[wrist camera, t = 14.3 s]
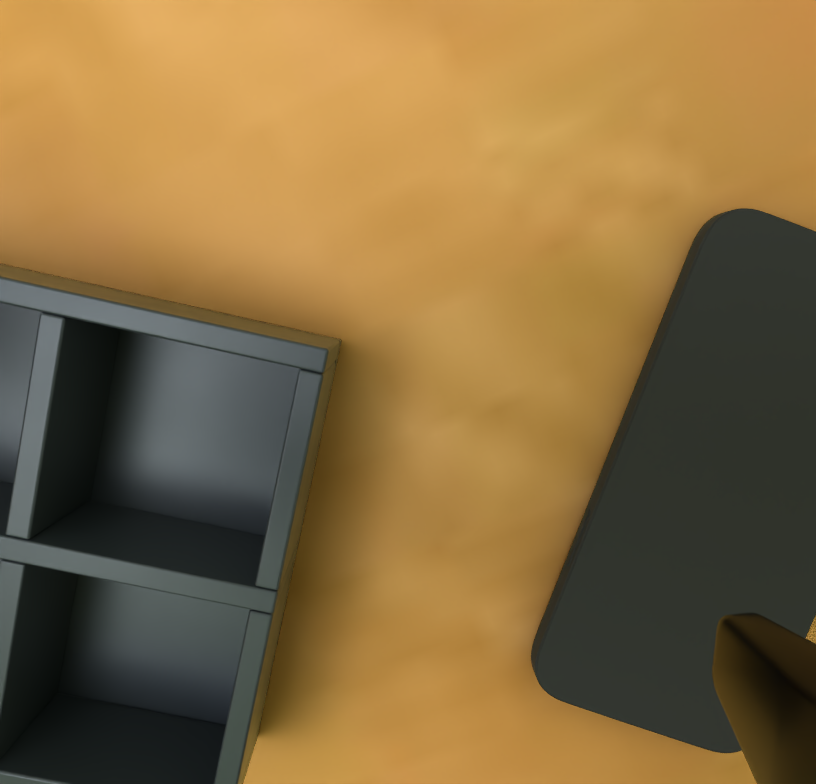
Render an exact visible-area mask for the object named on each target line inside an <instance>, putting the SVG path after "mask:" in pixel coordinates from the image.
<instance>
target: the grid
mask: <svg viewBox="0 0 816 784" xmlns="http://www.w3.org/2000/svg"><path fill="white" fill-rule="evenodd" d="M340 346H341V339H337V338H333V337H328V336H324V335H319V334H315V333H310V332H306V331H301V330H297V329H292V328H288V327H283V326H279V325H275V324H270V323H266V322H261V321H257V320H252V319H248V318H243V317H239V316H234V315H230V314H225V313H221V312H216V311H212V310H207V309H203V308H198V307H194V306H189V305H185V304H180V303H176V302H171V301H167V300H162V299H158V298H153V297H149V296H144V295H140V294H135V293H131V292H126V291H122V290H117V289H113V288H108V287H104V286H99V285H95V284H90V283H86V282H81V281H77V280H72V279H68V278H63V277H59V276H54V275H50V274H45V273H41V272H36V271H32V270H27V269H23V268H18V267H14V266H9V265H5V264H0V784H243V782H244V779H245V776H246V772H247V769H248V766H249V763H250V760H251V756H252V753H253V750H254V746H255V744H256V740H257V737H258V732H259V727H260V723H261V718H262V713H263V709H264V704H265V699H266V694H267V690H268V685H269V680H270V676H271V671H272V666H273V661H274V657H275V652H276V647H277V643H278V638H279V633H280V628H281V624H282V619H283V614H284V610H285V605H286V600H287V595H288V591H289V586H290V581H291V577H292V572H293V567H294V562H295V558H296V553H297V548H298V544H299V539H300V534H301V529H302V525H303V520H304V515H305V511H306V506H307V501H308V496H309V492H310V487H311V482H312V478H313V473H314V468H315V463H316V459H317V454H318V449H319V445H320V440H321V435H322V430H323V426H324V421H325V416H326V412H327V407H328V402H329V397H330V393H331V388H332V383H333V379H334V374H335V369H336V364H337V360H338V355H339V350H340Z"/></svg>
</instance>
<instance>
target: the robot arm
mask: <svg viewBox="0 0 816 784" xmlns="http://www.w3.org/2000/svg"><path fill="white" fill-rule="evenodd" d="M712 678H713V684H714V687H715V690H716V693H717V695H718V697H719V699H720V702H721V704H722V706H723V708H724V711H725V713H726V715H727V717H728V720H729V722H730V724H731V726H732V729H733V731H734V733H735V735H736V738H737V740H738V742H739V744H740V747H741V749H742V751H743V753H744V755H745V758H746V760H747V762H748V764H749V767H750V769H751V771H752V773H753V776H754V778H755V780H756V782H757V784H816V644H815V643H813V642H811V641H809V640H807V639H805V638H804V637H802V636H800V635H798V634H796V633H794V632H792V631H790V630H789V629H787V628H785V627H783V626H781V625H779V624H777V623H775V622H774V621H772V620H770V619H768V618H766V617H764V616H762V615H760V614H758V613H753V612H748V613H739V614H730V615H725V616H723V617H721V618H720V620H719V622H718V624H717V630H716V638H715V647H714V655H713V664H712Z"/></svg>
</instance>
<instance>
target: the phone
mask: <svg viewBox="0 0 816 784" xmlns="http://www.w3.org/2000/svg"><path fill="white" fill-rule="evenodd" d="M748 612H753V613H758V614H760V615H762V616H764V617H766V618H768V619H770V620H772V621H774V622H775V623H777V624H779V625H781V626H783V627H785V628H787V629H789V630H790V631H792V632H794V633H796V634H798V635H800V636H802V637H804V638H806V635H807V633H808V631H809V629H810V626H811V624H812V622H813V620H814V617H815V615H816V232H815V231H813V230H810V229H807V228H805V227H802V226H799V225H797V224H794V223H792V222H789V221H786V220H784V219H781V218H778V217H776V216H773V215H770V214H768V213H765V212H762V211H759V210H754V209H735V210H731V211H728V212H724V213H721V214H718V215H716V216H714V217H713V218H711V219H710V220H709V221H708V222H706V223H705V225H704V226H703V227H702V228H701V229H700V231H699V232H698V234H697V236H696V237H695V239H694V241H693V244H692V246H691V248H690V251H689V253H688V256H687V258H686V261H685V263H684V265H683V268H682V270H681V273H680V275H679V278H678V280H677V283H676V285H675V288H674V290H673V293H672V296H671V298H670V301H669V303H668V306H667V308H666V311H665V313H664V316H663V318H662V321H661V323H660V326H659V328H658V331H657V333H656V336H655V338H654V341H653V343H652V346H651V348H650V351H649V353H648V356H647V358H646V361H645V363H644V366H643V368H642V371H641V373H640V376H639V378H638V381H637V383H636V386H635V388H634V391H633V393H632V396H631V398H630V401H629V403H628V406H627V408H626V411H625V413H624V416H623V418H622V421H621V423H620V426H619V428H618V431H617V433H616V436H615V438H614V441H613V443H612V446H611V448H610V451H609V453H608V456H607V458H606V461H605V463H604V466H603V468H602V471H601V473H600V476H599V478H598V481H597V483H596V486H595V488H594V491H593V493H592V496H591V498H590V501H589V503H588V506H587V508H586V511H585V513H584V516H583V518H582V521H581V523H580V526H579V528H578V531H577V533H576V536H575V538H574V541H573V543H572V546H571V548H570V551H569V553H568V556H567V558H566V561H565V563H564V566H563V568H562V571H561V573H560V576H559V578H558V581H557V583H556V586H555V589H554V591H553V594H552V596H551V599H550V601H549V604H548V606H547V609H546V611H545V614H544V616H543V619H542V621H541V624H540V626H539V629H538V631H537V634H536V637H535V639H534V643H533V646H532V652H531V662H532V667H533V670H534V672H535V675H536V677H537V680H538V682H539V684H540V685H541V687H542V688H543V689H544V690H545V691H546V692H547V693H548V694H550V695H551V696H553V697H554V698H556V699H558V700H560V701H563V702H566V703H569V704H571V705H574V706H577V707H580V708H583V709H586V710H589V711H592V712H595V713H598V714H601V715H604V716H607V717H610V718H613V719H616V720H619V721H622V722H625V723H628V724H631V725H634V726H637V727H640V728H643V729H646V730H649V731H652V732H655V733H658V734H661V735H664V736H667V737H670V738H673V739H676V740H679V741H682V742H685V743H688V744H692V745H695V746H698V747H701V748H704V749H707V750H710V751H714V752H720V753H733V752H738V751H741V750H742V749H741V747H740V744H739V742H738V740H737V738H736V735H735V733H734V731H733V729H732V726H731V724H730V722H729V720H728V717H727V715H726V713H725V711H724V708H723V706H722V704H721V702H720V699H719V697H718V695H717V693H716V690H715V687H714V684H713V678H712V664H713V655H714V647H715V638H716V630H717V624H718V622H719V620H720V618H721V617H723V616H725V615H730V614H739V613H748Z"/></svg>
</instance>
